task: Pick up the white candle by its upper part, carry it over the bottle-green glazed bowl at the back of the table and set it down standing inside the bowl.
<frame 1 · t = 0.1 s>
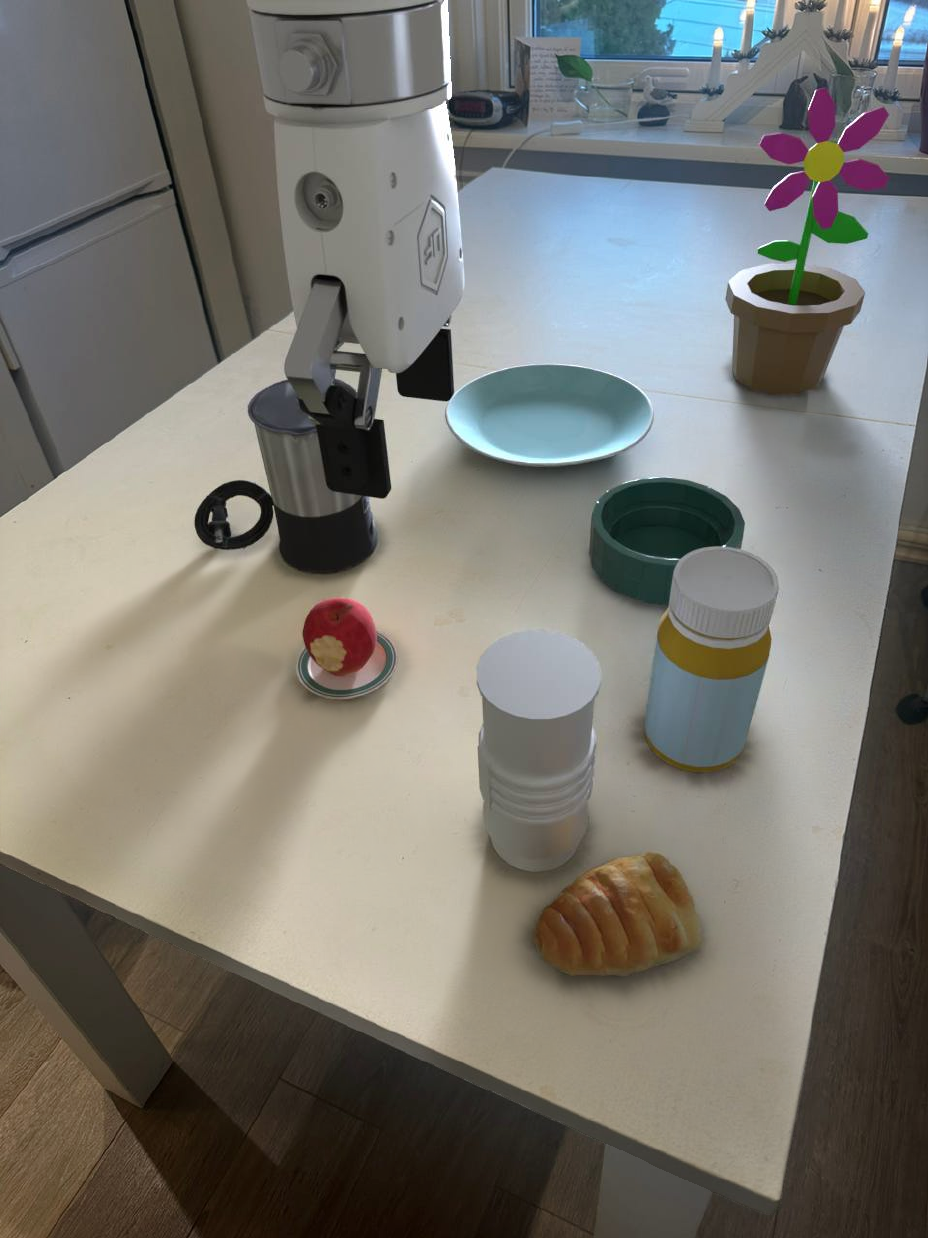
hand: (395, 440, 46), 25 cm above the table, tool pointing down, fingers open, 9 cm apart
bowl: (660, 564, 77), on the table
flowerpot: (776, 375, 103), on the table
apple: (348, 667, 69), on the table
plate: (547, 432, 95), on the table
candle: (534, 833, 57), on the table
pastry: (622, 932, 52), on the table
bottle: (692, 740, 63), on the table
milk frother: (289, 541, 82), on the table
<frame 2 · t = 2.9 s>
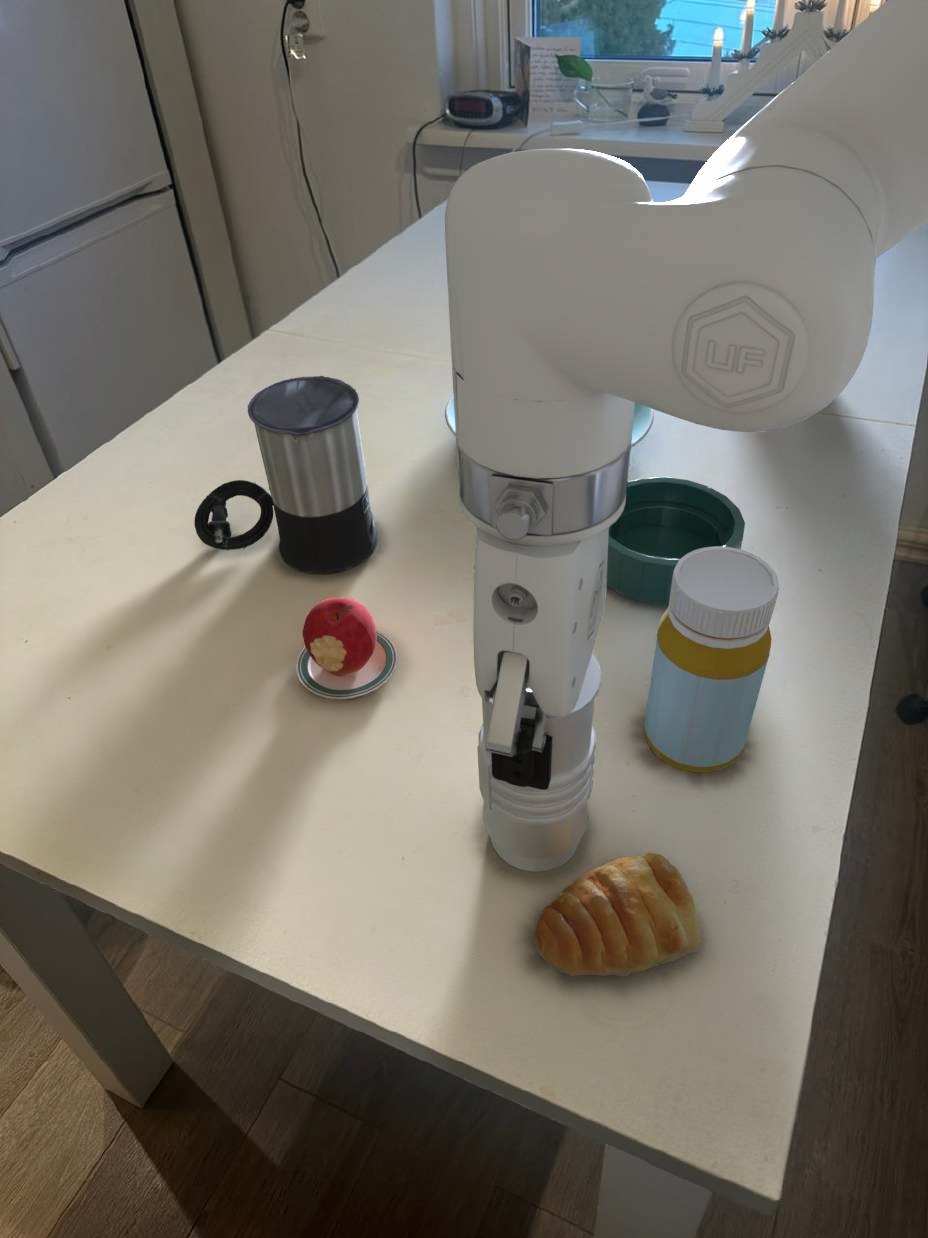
hand: (536, 732, 50), 10 cm above the table, tool pointing down, fingers closed on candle, 6 cm apart
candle: (534, 833, 57), on the table, touching gripper
everything else where it was.
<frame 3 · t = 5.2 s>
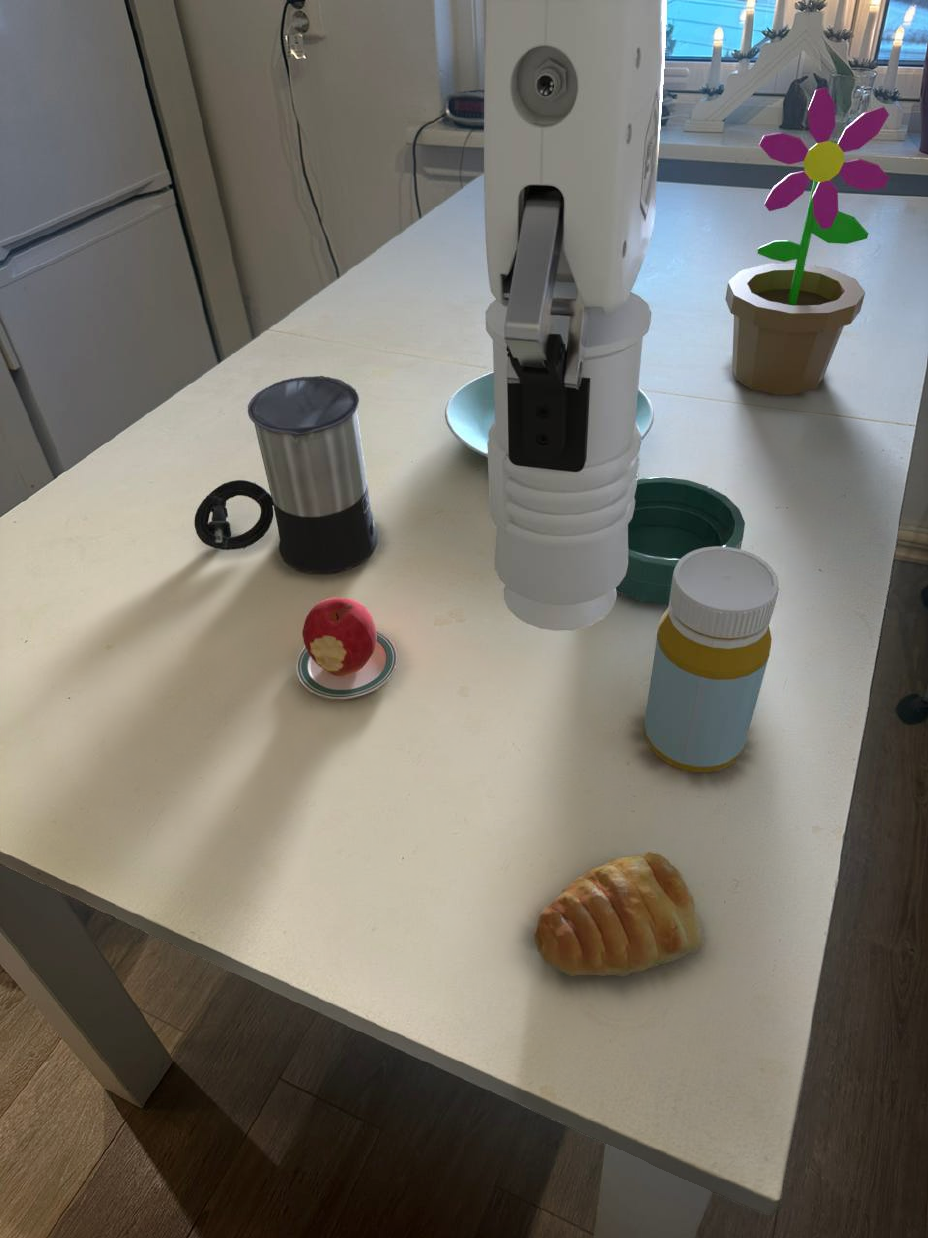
hand: (564, 420, 39), 29 cm above the table, tool pointing down, fingers closed on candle, 6 cm apart
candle: (558, 595, 46), point 19 cm above the table, touching gripper
everything else where it was.
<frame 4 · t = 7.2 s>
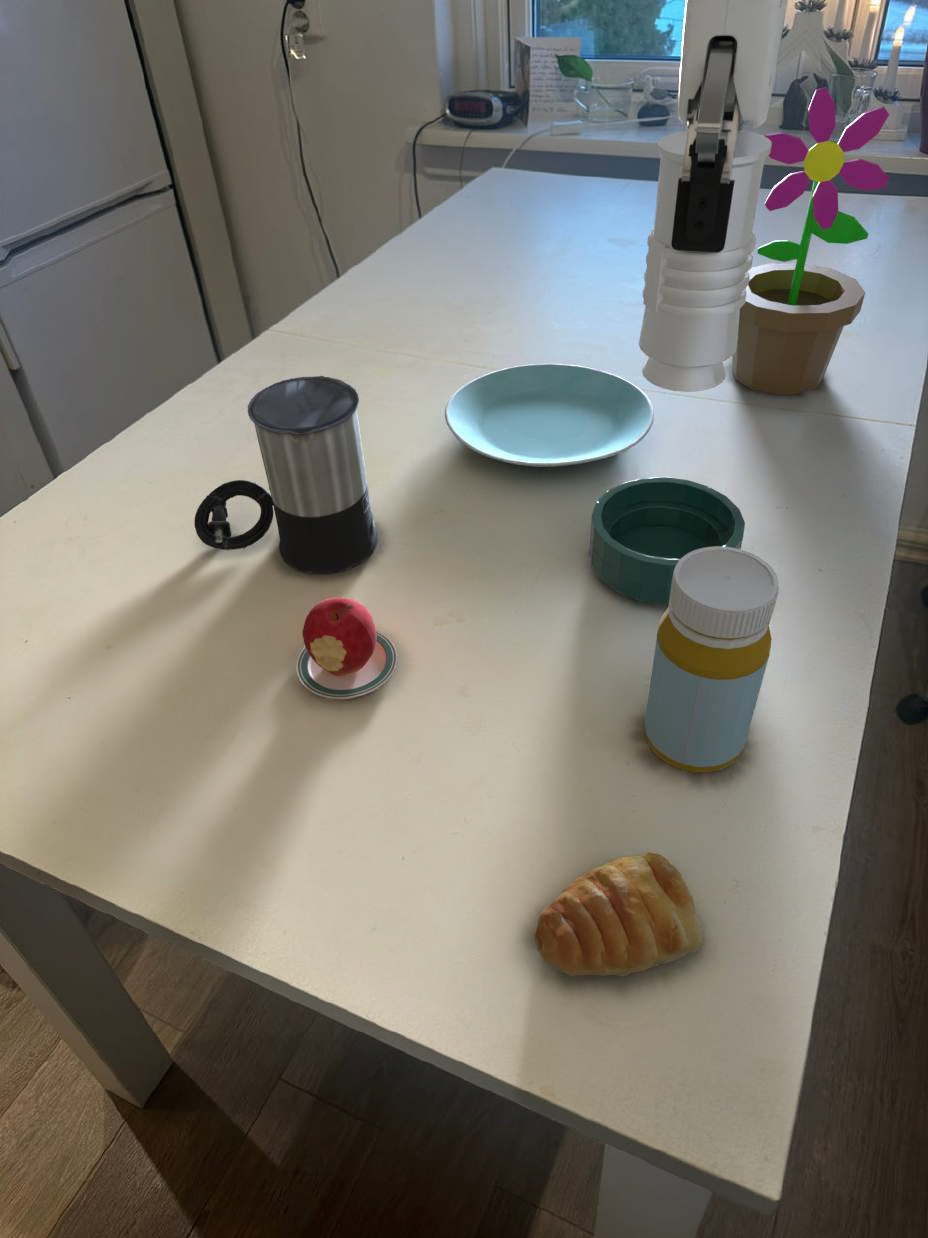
hand: (703, 227, 56), 29 cm above the table, tool pointing down, fingers closed on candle, 6 cm apart
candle: (682, 374, 63), point 19 cm above the table, touching gripper
everything else where it was.
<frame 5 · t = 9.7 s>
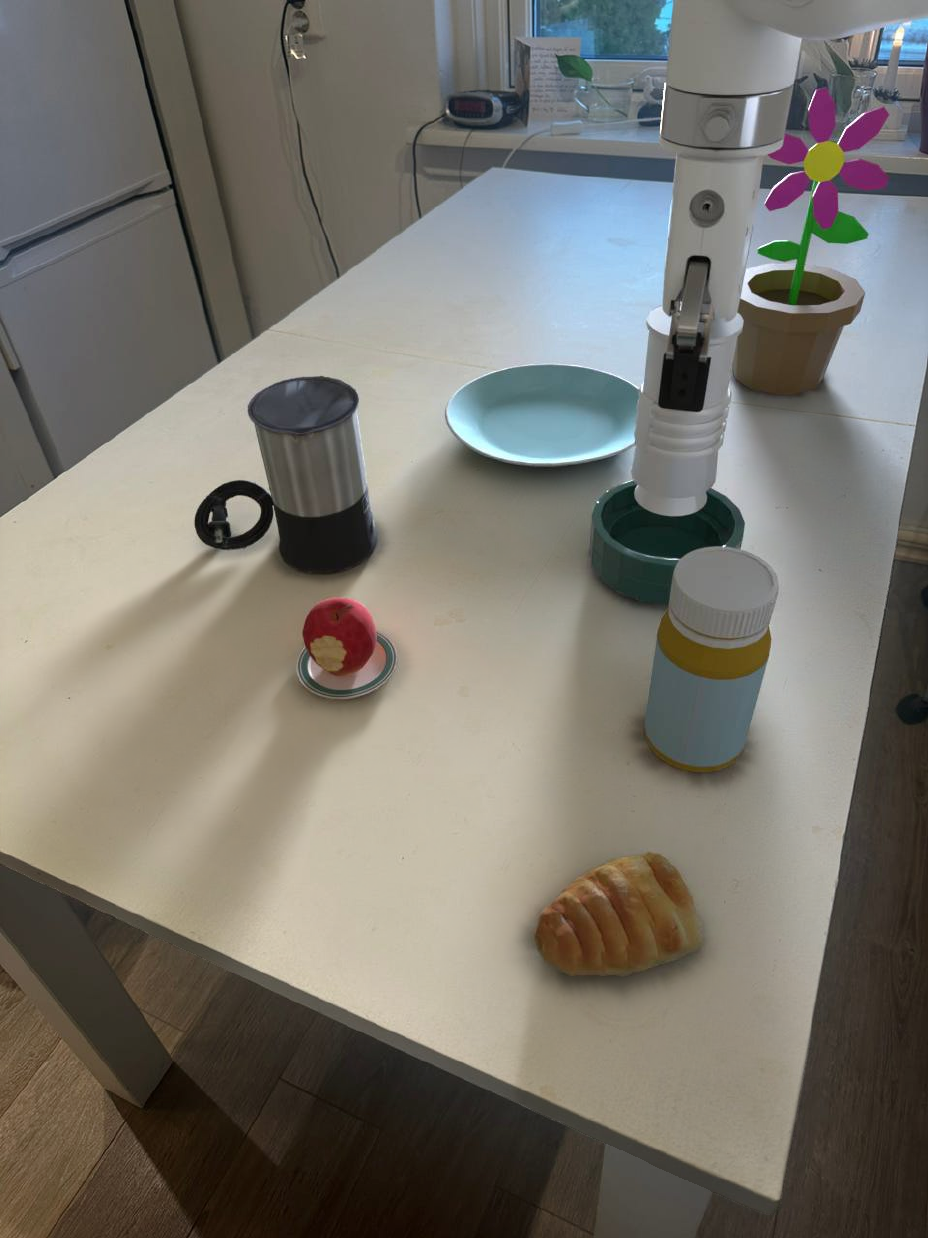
hand: (686, 383, 65), 17 cm above the table, tool pointing down, fingers closed on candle, 6 cm apart
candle: (669, 497, 72), point 7 cm above the table, touching gripper
everything else where it was.
when the fingers open (11 cm above the table, at t = 11.7 s): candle stays where it is, resting on bowl.
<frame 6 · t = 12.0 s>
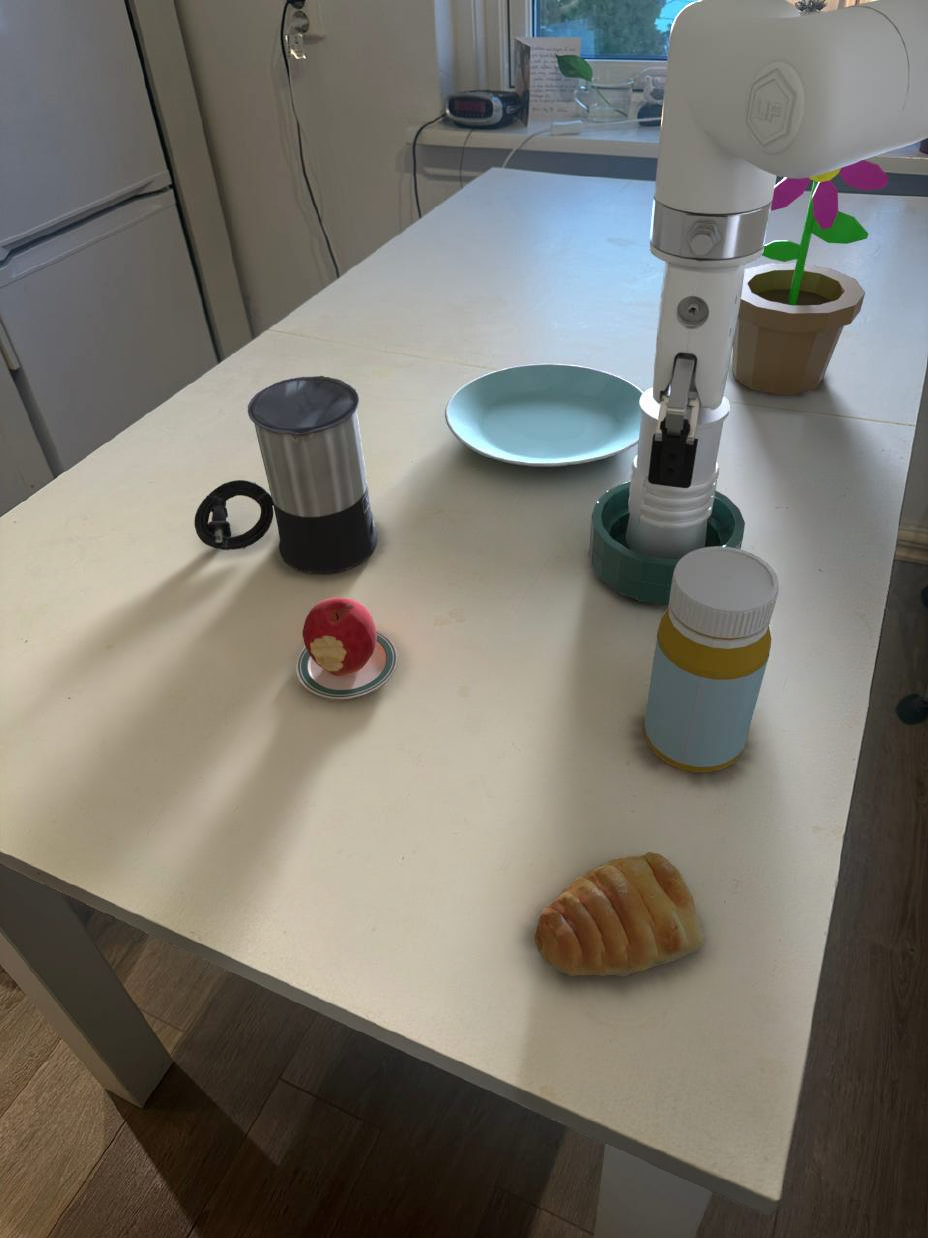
hand: (677, 451, 69), 11 cm above the table, tool pointing down, fingers open, 8 cm apart
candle: (661, 559, 77), point 1 cm above the table, touching bowl
everything else where it was.
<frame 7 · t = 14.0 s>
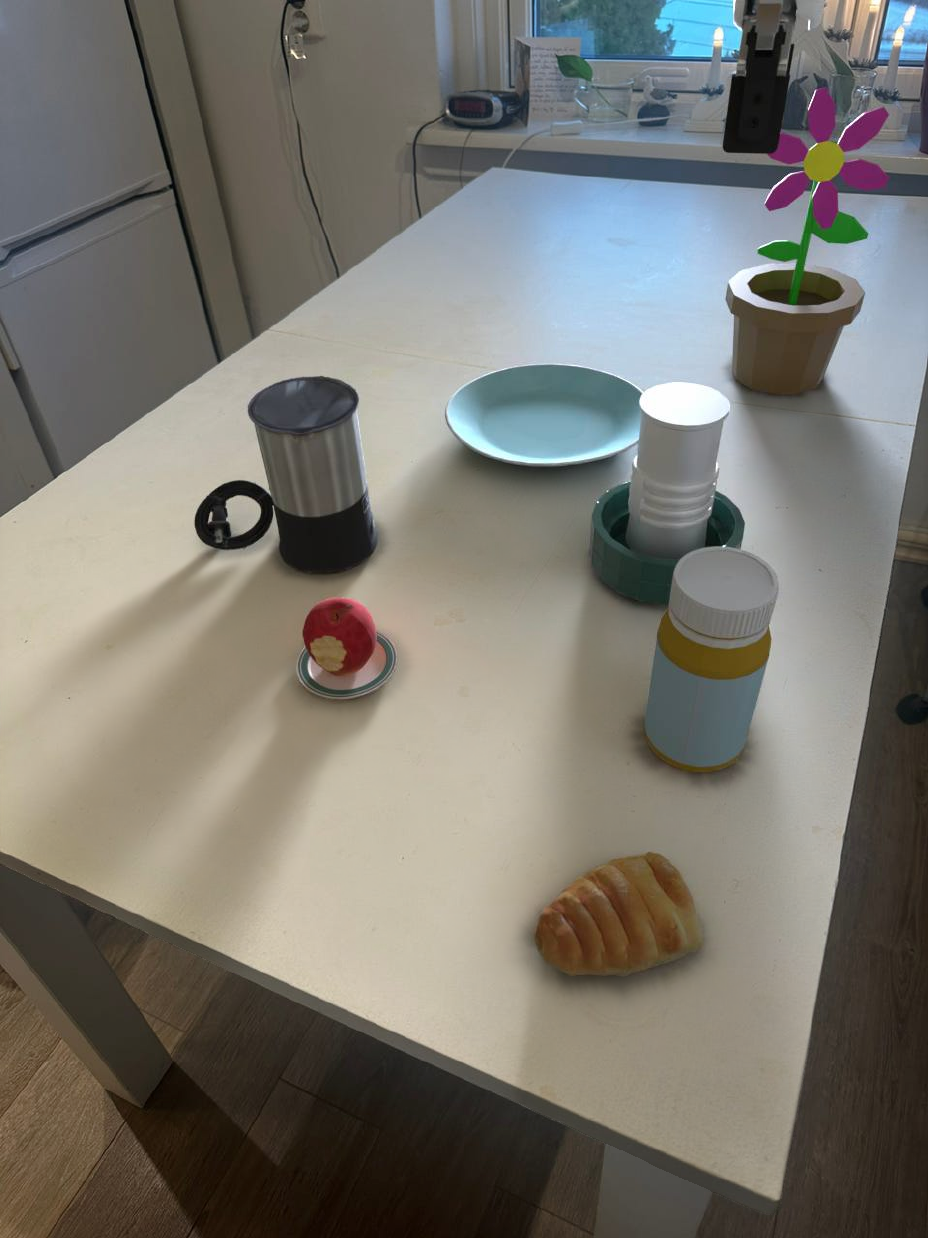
hand: (753, 131, 56), 34 cm above the table, tool pointing down, fingers open, 9 cm apart
nothing on the table moved.
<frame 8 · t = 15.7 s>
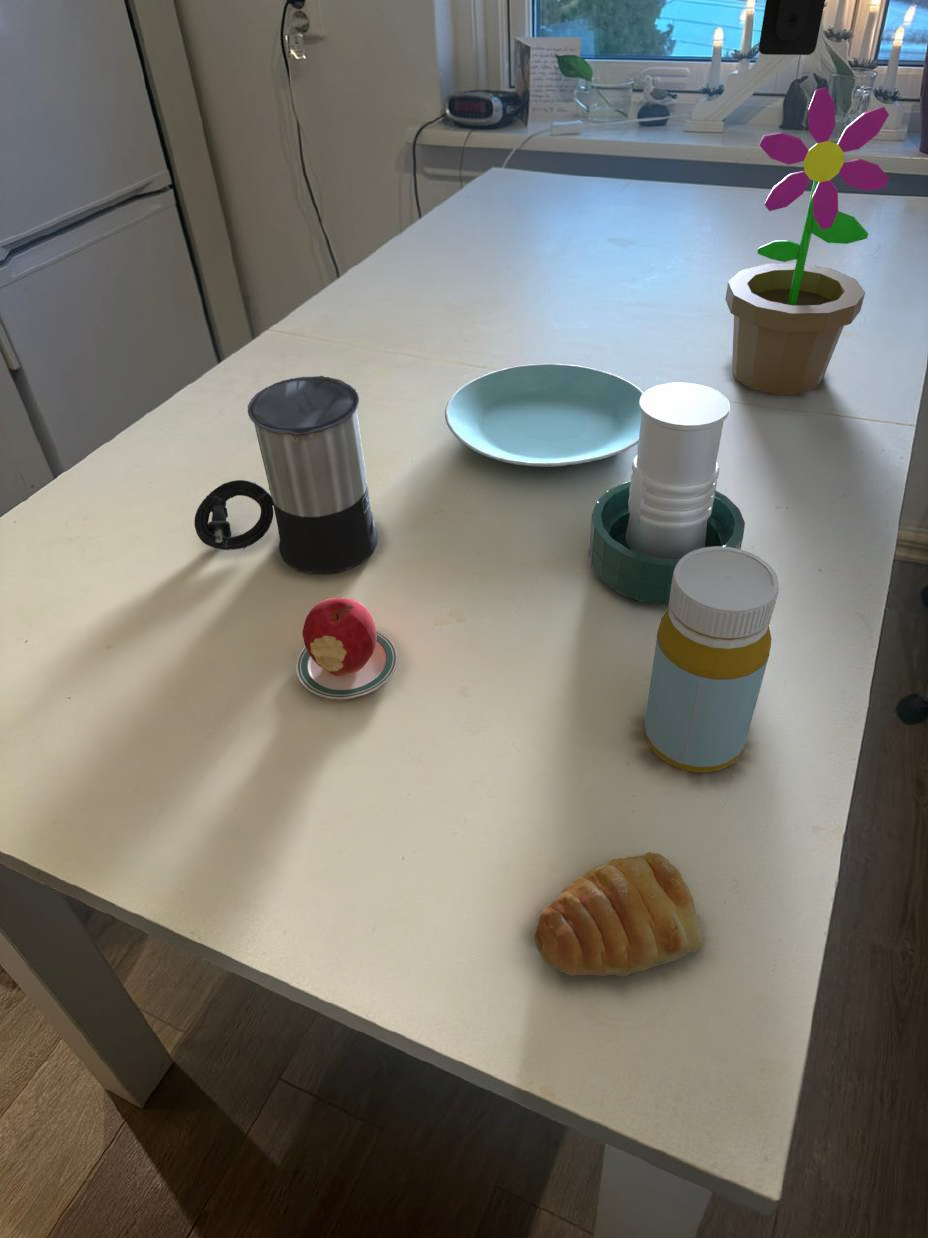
hand: (789, 38, 55), 38 cm above the table, tool pointing down, fingers open, 9 cm apart
nothing on the table moved.
at the end: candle 0.1 cm off-centre in the bowl, point 0.6 cm above the bowl's base; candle tilted 0°; the gripper is holding nothing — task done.
